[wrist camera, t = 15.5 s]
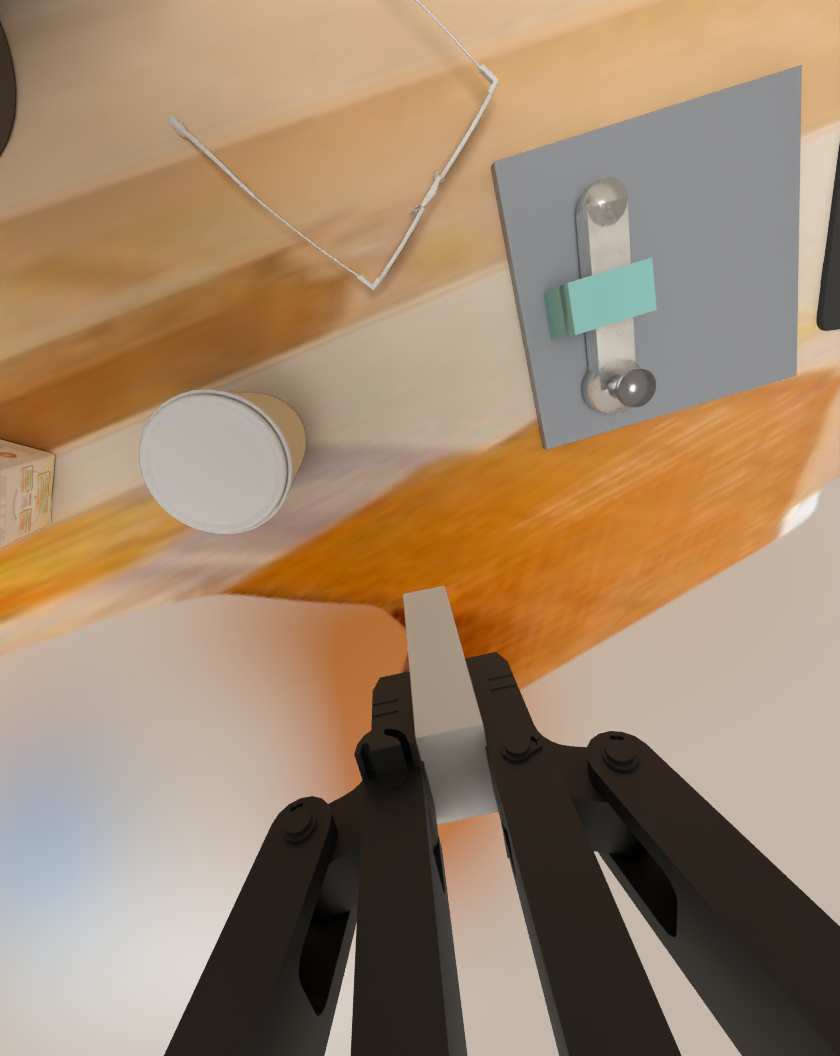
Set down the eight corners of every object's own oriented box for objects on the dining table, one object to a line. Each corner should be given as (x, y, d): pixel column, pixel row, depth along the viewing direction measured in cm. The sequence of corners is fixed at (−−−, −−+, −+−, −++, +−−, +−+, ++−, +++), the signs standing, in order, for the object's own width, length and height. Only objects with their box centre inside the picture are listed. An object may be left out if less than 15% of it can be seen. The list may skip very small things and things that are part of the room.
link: (633, 405, 39) (667, 410, 35) (584, 417, 39) (611, 424, 35) (621, 181, 34) (660, 150, 29) (564, 194, 34) (594, 167, 29)
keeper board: (491, 167, 34) (512, 127, 28) (789, 73, 33) (873, 13, 28) (543, 447, 41) (568, 460, 36) (786, 375, 41) (851, 376, 35)
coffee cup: (213, 369, 37) (138, 370, 26) (325, 399, 38) (302, 413, 27) (200, 476, 40) (128, 520, 29) (305, 501, 41) (276, 551, 30)
